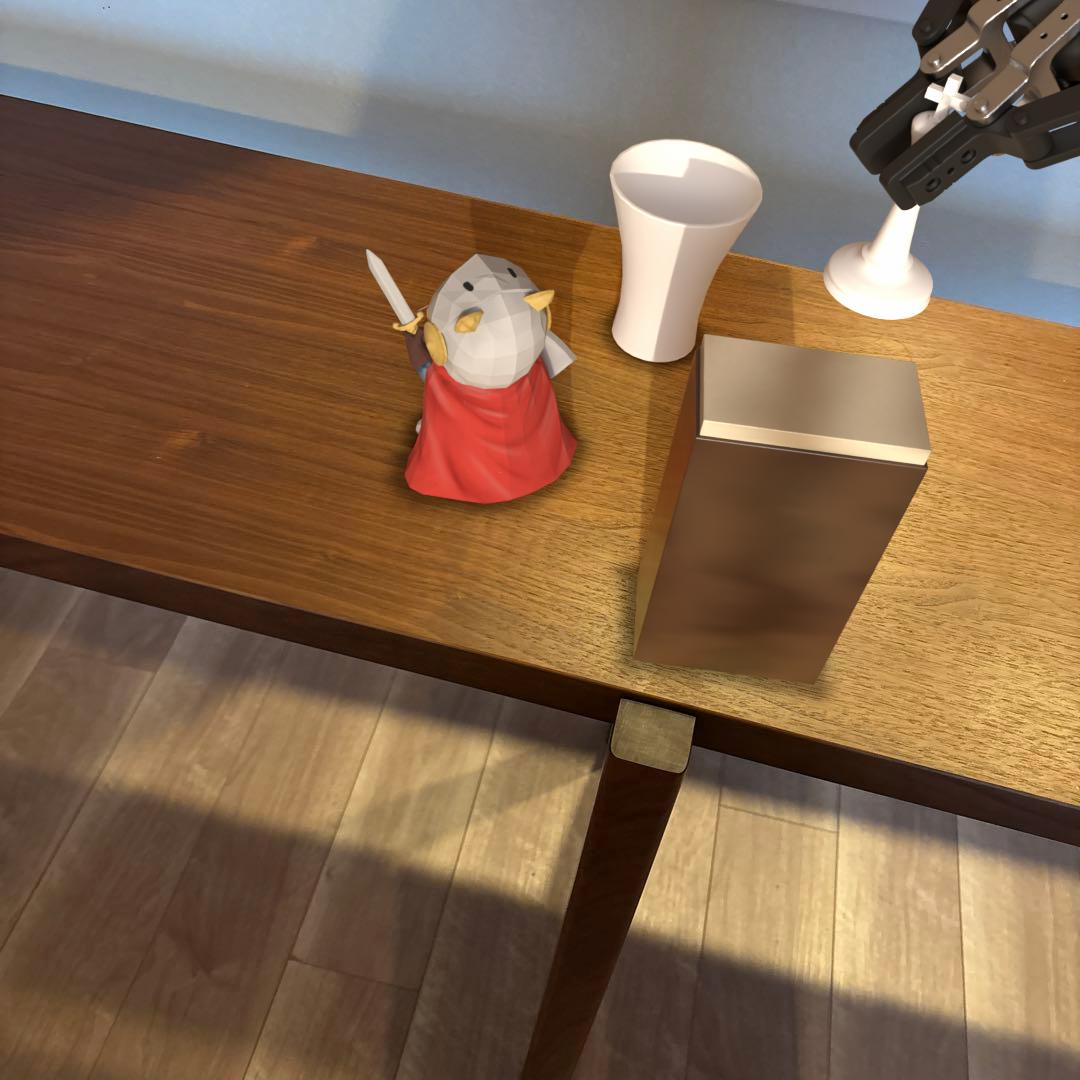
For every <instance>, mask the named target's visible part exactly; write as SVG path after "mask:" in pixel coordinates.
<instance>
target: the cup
mask: <svg viewBox="0 0 1080 1080" xmlns="http://www.w3.org/2000/svg"><path fill="white" fill-rule="evenodd" d="M609 180H610V185H611V190H612V196H613V201H614V206H615V212H616V218H617V224H618V230H619V236H620V243H621V264H622V265H621V267H622V278H621V286H620V287H621V288H620V295H619V296H620V297H619V301H618V305H617V308H616V312H615V315H614V318H613V322H612V326H611V333H612V337H613V340H614V341H615V342H616V344H617V345H618V347H620V348H621V350H623V351H624V352H626V353H627V354H629V355H630V356H632V357H635V358H637V359H640V360H643V361H647V362H652V363H670V362H674V361H678V360H679V359H682V358H684V357H686V356H687V355H689V354H690V353H691V352H692V351H693V349H694V348H695V345H696V341H697V340H696V339H697V331H698V325H699V324H698V323H699V317H700V314H701V310H702V308H703V306H704V302H705V300H706V299H705V298H706V296H707V293H708V290H709V288H710V286H711V283H712V282H713V279H714V277H715V275H716V274H717V271H718V269H719V267H720V265H721V263H722V262H723V261H724V260H725V258H726V256H727V255H728V253H729V252H730V251H731V248H732V247H733V246H734V245H735V243H736V241H737V239H738V238H739V236H740V235H741V234H742V232H743V231H744V229H745V228H746V226H747V225H748V223H749V222H750V221H751V220H752V218H753V216H754V214H755V213H756V212H757V211H758V209H759V208H760V205H761V204H762V202H763V192H764V190H763V189H764V188H763V186H762V184H761V182H760V178H759V176H758V175H757V173H756V172H755V171H754V170H753V169H752V168H751V167H750V165H748V164H747V163H746V162H745V161H743V160H742V159H740V158H739V157H738V156H736V155H734V154H732V153H731V152H729V151H727V150H724V149H722V148H720V147H717V146H714V145H711V144H708V143H706V142H701V141H695V140H689V139H684V138H660V139H652V140H645V141H643V142H640V143H636V144H633V145H631V146H630V147H628V148H627V149H624V150H623V151H622V152H620V153H619V154H618V155H617V156H616V158H615V159H614V160H613V161H612V163H611V167H610V171H609Z"/></svg>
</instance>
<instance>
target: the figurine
mask: <svg viewBox="0 0 1080 1080" xmlns="http://www.w3.org/2000/svg"><path fill="white" fill-rule="evenodd" d="M365 254H366V259H367V265H368V268H369V270H370V272H371V274H372V275H373V277H374V279H375V280H376V282H377V284H378V285H379V287H380V290H382V292H383V294H384V296H385V297H386V299H387V301H388V302H389V304H390V306H391V307H392V309H393V311H394V313H395V314H396V316H397V317H398V320H399V321H400V322H398V321H394V322H393V323H392V328H393V329H394V330H396V331H401V332H402V335H403V337H404V338H405V343H406V349H407V353H408V358H409V362H410V365H411V366H412V369H413V370H414V372H415V373H417V374H418V375H419V377H420V378H421V380H422V381H423V382H424V385H423V400H422V401H423V402H422V413H421V419H419V420H418V421H417V422H416V425H415V432H416V433H417V438H416V440H415V443H414V445H413V447H412V449H411V451H410V453H409V455H408V457H407V461H406V466H405V471H404V478H405V480H406V483H407V485H408V487H409V488H410V489H411V490H413V491H415V492H417V493H418V494H421V495H425V496H431V497H436V498H437V497H438V498H444V499H451V500H456V501H463V502H469V503H477V504H484V505H485V504H493V503H500V502H501V503H503V502H508V501H512V500H515V499H518V498H520V497H521V498H522V497H523V496H527V495H530V494H533V493H535V492H537V491H538V490H540V489H542V488H544V487H546V486H548V485H550V484H551V483H553V482H555V481H556V480H557V479H558V478H559V477H560V476H561V475H562V474H563V473H564V471H566V470H567V469H568V468H569V466H570V465H571V464H572V460H573V459H574V455H575V453H576V450H577V447H578V444H579V442H578V440H577V439H576V438H575V437H574V435H573V434H572V432H571V431H570V430H569V428H568V427H567V426H566V424H565V423H564V421H563V418H562V416H561V413H560V410H559V408H558V402H557V398H556V394H555V391H554V387H553V384H552V379H554V378H555V377H557V375H558V374H560V373H561V372H563V371H564V370H565V369H566V368H567V367H568V366H570V365H571V364H572V363H573V362H574V361H576V360H578V356H577V355H575V353H574V352H573V351H572V350H571V349H570V348H569V346H568V345H566V343H565V342H564V341H563V340H561V338H559V337H558V336H557V335H556V334H555V333H554V332H552V330H551V325H552V312H551V309H550V305H551V304H552V303H553V300H554V296H555V289H551V288H547V289H544V290H540V289H539V288H538V287H537V286H536V284H535V283H534V281H532V279H531V278H530V277H529V276H528V275H527V273H526V272H525V271H524V269H523V268H522V267H520V266H518V265H517V264H515V263H513V262H511V261H509V260H507V259H506V258H503V257H497V256H492V255H487V254H480V253H475V254H473V255H472V256H471V257H469V258H468V259H466V260H465V261H464V262H463V263H462V264H461V265H459V266H458V267H457V268H456V269H455V270H454V271H452V273H450V274H449V275H448V276H447V277H446V278H445V279H444V280H443V281H442V283H441V284H440V285H439V286H438V288H437V289H436V290H435V291H434V293H433V295H432V296H431V299H430V301H429V303H428V305H426V306H424V307H421V308H420V309H418V310H417V313H416V316H417V317H415V315H414V312H412V310H411V308H410V306H409V304H408V302H407V301H406V299H405V298H404V296H403V294H402V292H401V291H400V289H399V288H398V286H397V284H396V282H395V280H394V279H393V277H392V275H391V273H390V272H389V271H388V269H387V267H386V265H385V264H384V262H383V260H382V259H381V258H379V256H377V255H376V254H375V253H374V252H373V251H372V250H370V249H367V248H366V250H365ZM424 309H426V318H427V319H426V320H424V321H422V319H423V318H424V316H425V312H424V311H423V310H424ZM420 321H422V323H421V324H418V323H419V322H420ZM423 324H424V325H423ZM421 325H423V326H421Z"/></svg>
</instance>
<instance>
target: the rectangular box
mask: <svg viewBox="0 0 1080 1080" xmlns="http://www.w3.org/2000/svg"><path fill="white" fill-rule="evenodd" d="M922 394H923V393H922V389H921V383H920V378H919V373H918V367H917V362H916V361H911V360H901V359H894V358H887V357H879V356H873V355H864V354H858V353H850V352H844V351H843V352H842V351H835V350H827V349H820V348H814V347H805V346H799V345H798V346H797V345H791V344H783V343H776V342H768V341H761V340H753V339H746V338H738V337H731V336H724V335H716V334H709V333H704V334H703V337H702V341H701V344H700V347H699V346H697V347H696V348H695V350H694V354H693V358H692V362H691V366H690V369H689V373H688V378H687V382H686V386H685V389H684V393H683V396H682V401H681V405H680V409H679V411H678V412H679V413H678V417H677V421H676V424H675V428H674V432H673V436H672V439H671V444H670V447H669V450H668V451H669V452H668V455H667V459H666V463H665V467H664V470H663V475H662V478H661V482H660V486H659V490H658V494H657V498H656V502H655V506H654V510H653V513H652V517H651V521H650V524H649V525H650V526H649V529H648V532H647V537H646V540H645V544H644V549H643V552H642V556H641V559H640V563H639V568H638V572H637V575H636V576H637V577H636V593H635V610H634V611H635V614H634V630H633V631H634V632H633V649H632V660H633V662H641V663H649V664H656V665H665V666H672V667H680V668H688V669H695V670H702V671H709V672H716V673H717V672H718V673H724V674H725V673H726V674H732V675H740V676H746V677H747V676H748V677H755V678H762V679H763V678H764V679H770V680H778V681H785V682H793V683H799V684H800V683H801V684H806V685H807V684H809V685H815V684H816V682H817V681H818V679H819V677H820V675H821V673H822V671H823V670H824V668H825V665H826V664H827V661H828V660H829V658H830V656H831V654H832V652H833V650H834V648H835V646H836V645H837V643H838V641H839V639H840V637H841V635H842V634H843V631H844V630H845V628H846V626H847V624H848V622H849V621H850V618H851V616H852V615H853V613H854V610H855V609H856V607H857V605H858V603H859V601H860V599H861V597H862V595H863V593H864V592H865V590H866V588H867V586H868V583H869V582H870V580H871V578H872V576H873V574H874V573H875V571H876V568H877V567H878V565H879V564H880V561H881V559H882V557H883V556H884V553H885V551H886V550H887V548H888V546H889V544H890V542H891V540H892V538H893V536H894V534H895V533H896V530H897V529H898V527H899V525H900V523H901V521H902V519H903V518H904V515H905V513H906V512H907V510H908V508H909V506H910V504H911V502H912V500H913V498H914V497H915V495H916V493H917V491H918V489H919V488H920V486H921V484H922V481H923V480H924V478H925V477H926V474H927V473H928V470H929V466H928V465H929V464H928V459H929V457H930V456H931V453H932V446H931V439H930V434H929V429H928V423H927V416H926V411H925V406H924V402H923V395H922Z"/></svg>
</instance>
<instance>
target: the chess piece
mask: <svg viewBox="0 0 1080 1080" xmlns="http://www.w3.org/2000/svg"><path fill="white" fill-rule="evenodd" d="M962 79H963V77H961V76H958V75H956V74H952V75H951V76H950V77H949V78H948V81H947V83H946V86H945V88H944V87H942V86H939V85H937V84H934V83H932V84H931V85H930V86H929V87H928V89H927V92H926V95H925V98H927V99H930V100H933V101H935V102H938V103H939V104H938V107H937V110H936V111H925V112H921V113H919V114H917V115H916V116H915V117H914V118H913V121H912V127H911V135H912V145H913V144H914V143H915V142H916V141H918V140H919V139H920V138H921V137H923V136H924V135H925V134H926V133H927V132H929V131H930V130H931V129H932V128H933V127H935V126H936V125H937V124H938V123H939V122H941V121H942V120H943V119H944V118H945V117H947V116H948V115H949V114H950V113H951V111H952V110H956V111H957V112H961V113H963V114H965V113H966V107H967V105H968V103H969V102H970V101H971V100H972V99H973V97H972V98H970V97H967V96H965V95H962V94H960V93H957V92H958V90H959V87H960V84H961V82H962ZM951 108H953V109H951ZM912 145H911V146H912ZM920 209H921V206H918V205H916V206H915V207H913V208H912V209H910V210H906V211H903V210H901V209H900V208H899V207H898V206H897V205H896V204H895V202H894V201H893V203H892V206H891V207H890V210H889V211H888V214H887V216H886V217H885V219H884V221H883V223H882V225H881V227H880V229H879V230H878V232H877V234H876V235H875V237H874V239H873V240H872V241H855V242H851V243H848V244H845V245H842V246H841V247H839V248H838V249H836V250H835V251H834V252H833V253H832V254H831V255H830V257H829V259H828V262H827V264H826V265H825V267H824V269H823V273H822V279H823V283H824V286H825V288H826V290H827V291H828V293H829V294H830V295H831V296H832V297H833V299H835V300H836V301H837V302H838V303H840V304H841V305H842V306H844V307H846V308H848V309H849V310H851V311H853V312H855V313H857V314H860V315H863V316H866V317H869V318H873V319H880V320H888V321H889V320H893V321H894V320H895V321H896V320H903V319H908V318H912V317H914V316H916V315H919V314H920V313H922V312H923V311H924V310H925V309H926V308H927V307H928V306H929V303H930V300H931V294H932V292H933V289H934V281H933V277H932V274H931V272H930V270H929V269H928V267H927V266H926V265H925V264H924V263H923V262H922V261H921V260H920V259H918V258H917V257H916V256H915V255H913V254H912V253H911V252H910V249H911V244H912V240H913V236H914V232H915V228H916V223H917V220H918V216H919V213H920Z"/></svg>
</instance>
